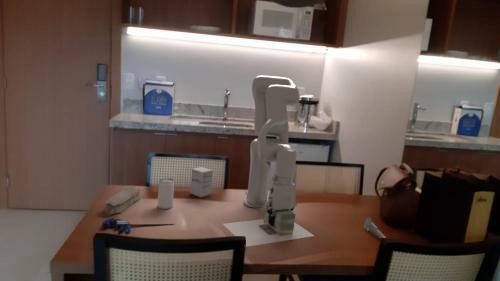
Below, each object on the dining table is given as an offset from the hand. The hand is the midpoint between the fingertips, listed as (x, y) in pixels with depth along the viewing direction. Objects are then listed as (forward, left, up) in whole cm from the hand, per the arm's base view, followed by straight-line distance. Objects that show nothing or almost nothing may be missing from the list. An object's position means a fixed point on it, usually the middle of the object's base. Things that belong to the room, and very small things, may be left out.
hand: (278, 223), depth 148 cm
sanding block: (0, 0, -2) cm, 2 cm away
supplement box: (-49, -13, -4) cm, 51 cm away
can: (-37, -34, -4) cm, 51 cm away
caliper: (+18, +38, -4) cm, 42 cm away
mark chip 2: (+2, -5, -2) cm, 6 cm away
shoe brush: (-43, -51, -4) cm, 67 cm away
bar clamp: (-19, -46, -4) cm, 50 cm away
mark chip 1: (-2, -5, -2) cm, 6 cm away
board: (0, -4, -4) cm, 6 cm away
